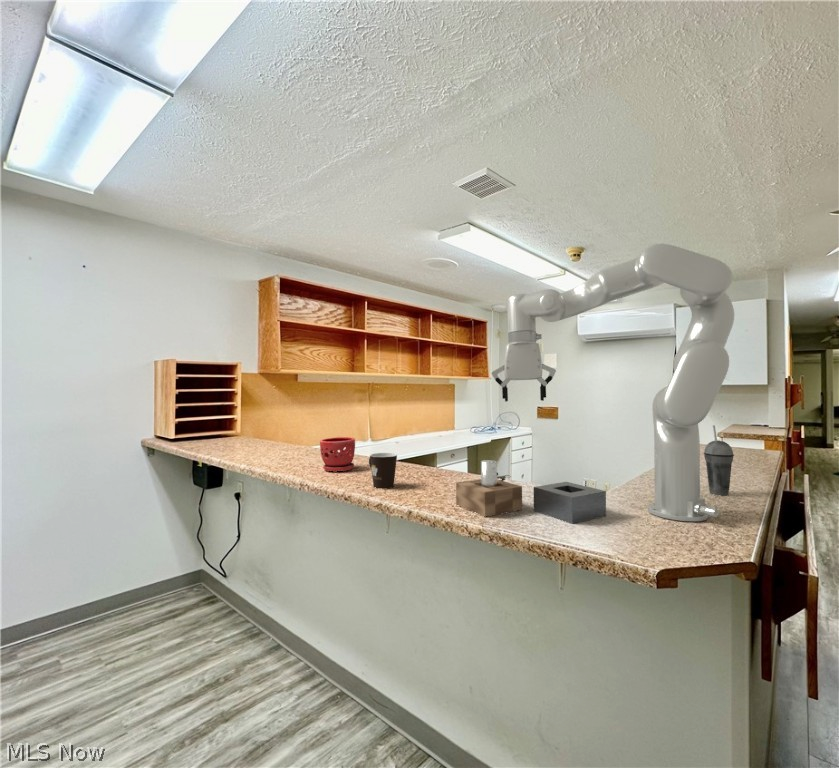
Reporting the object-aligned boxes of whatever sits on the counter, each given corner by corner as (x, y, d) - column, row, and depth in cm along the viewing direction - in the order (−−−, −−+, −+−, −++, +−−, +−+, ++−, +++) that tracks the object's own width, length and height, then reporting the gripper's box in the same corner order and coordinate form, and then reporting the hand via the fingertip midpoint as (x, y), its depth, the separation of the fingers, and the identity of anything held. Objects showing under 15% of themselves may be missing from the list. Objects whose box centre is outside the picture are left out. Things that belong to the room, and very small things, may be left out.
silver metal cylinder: (499, 508, 109) (499, 461, 109) (487, 510, 107) (487, 463, 107) (490, 504, 112) (489, 459, 113) (478, 506, 110) (478, 460, 111)
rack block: (522, 509, 108) (522, 486, 108) (485, 517, 102) (484, 492, 102) (491, 499, 118) (491, 477, 118) (456, 505, 112) (456, 482, 112)
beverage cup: (740, 497, 119) (739, 426, 119) (711, 496, 120) (711, 426, 121) (725, 491, 126) (725, 424, 127) (699, 490, 127) (698, 424, 128)
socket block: (606, 515, 102) (605, 491, 103) (572, 523, 96) (571, 497, 97) (566, 504, 113) (566, 481, 113) (533, 510, 107) (533, 487, 107)
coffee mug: (399, 488, 131) (399, 456, 131) (372, 490, 129) (372, 457, 129) (392, 480, 142) (392, 451, 142) (366, 482, 140) (366, 452, 140)
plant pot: (335, 465, 170) (335, 436, 170) (361, 468, 163) (361, 437, 164) (312, 471, 159) (312, 439, 159) (339, 474, 152) (339, 441, 152)
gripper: (553, 339, 119) (555, 399, 119) (491, 342, 123) (493, 401, 123) (555, 335, 112) (558, 400, 111) (489, 339, 116) (491, 402, 115)
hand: (524, 400), depth 117 cm, fingers open, 9 cm apart
